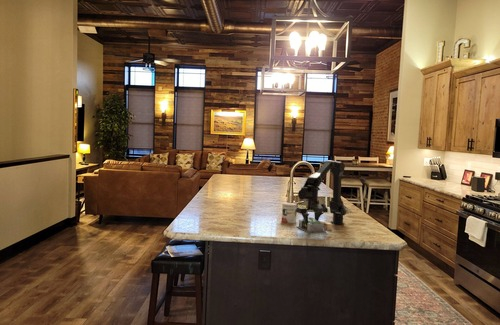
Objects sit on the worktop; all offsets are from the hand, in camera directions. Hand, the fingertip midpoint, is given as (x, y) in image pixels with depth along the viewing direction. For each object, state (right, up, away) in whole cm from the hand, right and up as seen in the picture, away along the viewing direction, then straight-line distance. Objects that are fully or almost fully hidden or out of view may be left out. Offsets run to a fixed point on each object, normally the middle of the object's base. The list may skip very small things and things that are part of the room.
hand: (311, 224), depth 220 cm
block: (+9, -3, +6) cm, 11 cm away
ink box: (-12, -2, +18) cm, 22 cm away
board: (0, +1, 0) cm, 1 cm away
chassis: (0, -3, 0) cm, 3 cm away
